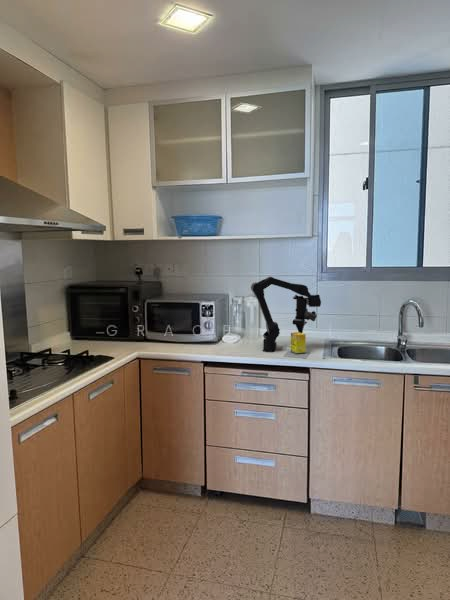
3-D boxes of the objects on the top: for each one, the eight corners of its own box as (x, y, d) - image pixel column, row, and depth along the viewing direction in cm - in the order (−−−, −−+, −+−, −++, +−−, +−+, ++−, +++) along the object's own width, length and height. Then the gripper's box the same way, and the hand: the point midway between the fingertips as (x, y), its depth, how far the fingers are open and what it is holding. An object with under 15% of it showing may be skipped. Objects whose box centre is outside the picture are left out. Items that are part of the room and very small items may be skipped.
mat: (283, 356, 216) (283, 356, 216) (287, 351, 227) (287, 350, 227) (306, 358, 211) (306, 358, 211) (309, 352, 223) (309, 352, 222)
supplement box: (290, 352, 224) (290, 332, 222) (299, 351, 226) (300, 331, 224) (295, 354, 218) (296, 334, 217) (305, 353, 220) (305, 333, 219)
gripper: (313, 310, 216) (312, 339, 218) (318, 305, 233) (317, 332, 235) (292, 309, 220) (292, 337, 222) (298, 304, 237) (298, 331, 239)
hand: (300, 334), depth 229 cm, fingers closed
